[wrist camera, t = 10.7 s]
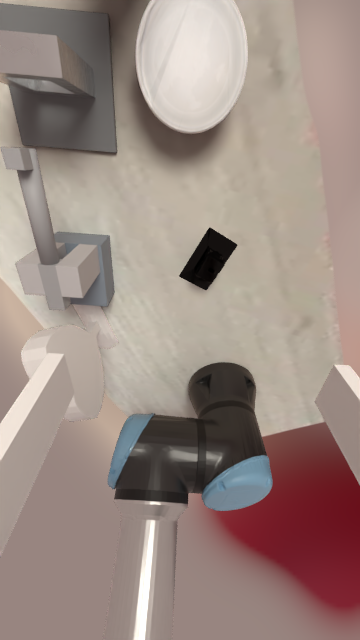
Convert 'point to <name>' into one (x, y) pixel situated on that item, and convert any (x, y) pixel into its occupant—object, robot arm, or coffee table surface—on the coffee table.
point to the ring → (43, 65)
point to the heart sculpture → (76, 358)
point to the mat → (58, 110)
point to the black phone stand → (208, 259)
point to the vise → (58, 247)
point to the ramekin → (191, 61)
